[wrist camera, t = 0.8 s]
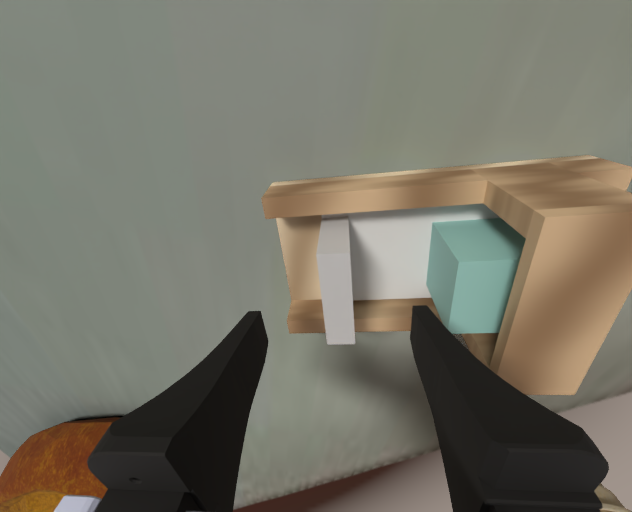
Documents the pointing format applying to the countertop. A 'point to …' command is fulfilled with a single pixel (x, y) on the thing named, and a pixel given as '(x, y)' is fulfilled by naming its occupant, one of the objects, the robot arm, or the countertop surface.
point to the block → (473, 272)
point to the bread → (53, 467)
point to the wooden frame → (533, 270)
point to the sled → (377, 258)
